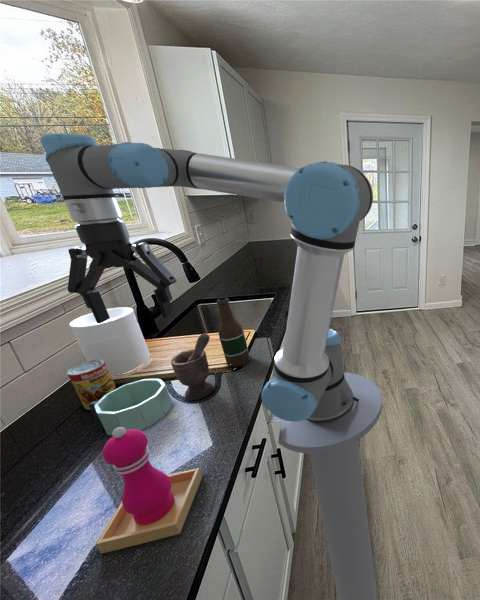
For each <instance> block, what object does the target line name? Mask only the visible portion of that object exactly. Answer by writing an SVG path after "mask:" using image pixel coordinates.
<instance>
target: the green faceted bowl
mask: <svg viewBox="0 0 480 600" xmlns="http://www.w3.org/2000/svg"><path fill="white" fill-rule="evenodd" d="M173 405H174V404H173V402H172V399H171V395H170V393H169V391H168V388H167V386H166V383H165V382H164V381H163V380H162V378H143V379H140V380H136V381H132V382H129V383H125V384H123V385H121V386H119V387H118V388H117V387H116V389H115V390H113V391H111V392H109V393H107V394H106V395H104V396H103V397H102V398H101V399H100V400H99V401H92V402H91V403H90V404H89V407H90V409H91V410H90V412H91V413H92V415H93V417H94V419H95V420H97V421H98V420H99V421H100V422H101V424H102V427H103V428H104V431H105V433H106V435H107V436H113V435H112V432H113V431H114V430H115V429H116V428H118V427H124V428H125V429H126V430H130V429H136V430H140V431H143V430H145V429H147V428H149V427H151V426H152V425H153V424H155V423H157V422H159V421H160V420H161V419H163V418H165V417H166V416H167V414H168V413H169V411H170V410H171V408H172V407H173Z"/></svg>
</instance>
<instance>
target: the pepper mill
mask: <svg viewBox="0 0 480 600" xmlns="http://www.w3.org/2000/svg"><path fill="white" fill-rule="evenodd" d="M111 436H112V437H110V438H109V439H108V440H107V441H106V442H105V444H104V445H103V449H102V457H103V460H104V461H105V462H106V463H107V464H108V465H111V466H112V468H113V470H114V472H115V473H116V474H117V475H121V476H122V478H123V482H124V486H123V490H122V497H121V498H122V499H121V502H122V504H123V507H124V509H125V511H126V512H127V513H129V514H132V516H133V518H134V520H135V522H136V523H137V524H138V525H148V524H151V523H153V522H156V521H157V520H159V519H161V518H162V517H163V516H164V515H166V514H167V513H168V512H169V510H170V509H171V508H172V506H173V504H174V496H173V494H172V492H171V481H170V479H169V478H168V476H167V475H168V474H166V473H165V472H163V471H162V470H160V469H157V468H156V467H154V466H153V465H152V463H151V462H150V458H151V451H150V449H149V448H148V444H149V440H148V436H147V435H146V433H145V432H143V430H136V429H130V430H126V429H125V428H124V427H118V428H116V429H115V430H114V431H113V432H112V435H111Z"/></svg>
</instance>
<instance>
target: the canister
mask: <svg viewBox="0 0 480 600" xmlns="http://www.w3.org/2000/svg"><path fill="white" fill-rule="evenodd" d="M106 309H107V312H108V314H109V317H110V318H109V319H108V320H106V321H104V322H102V323H97V322H96V319H95V317H94V315H93V313H92V312H90V313H88V314H83V315H81V316H79V317H77V318H75V319H73V320H72V321H70V322H69V327H70V330H71V331H72V333H73V337H75V339H76V342H77V344H78V347H79V348H80V351H81V353H82V355H83V357H84V359H85V362H87V361H91V360H104V362H105V364H106V366H107V369H108V371H109V373H110V375H111V376H115V375H119V374H123V373H126V372H128V371H130V370H132V369H134V368H136V367H138V366H139V365H141V364H143V363H144V362H146V361H147V360H148V359H149V357H150V355H151V353H150V350H149V348H148V345H147V342H146V340H145V337H144V335H143V332H142V330H141V327H140V324H139V322H138V319H137V316H136V314H135V311H134V308H132V307H129V306H128V307H127V306H122V307H120V306H119V307H112V308H106ZM152 361H153V359H152V357H151V359H150V360H149V362H147V363H146V364H145V365H144V366H142V367H143V368H142V369H141V370H143V369H145V368H146V367H147V366H149V365H150V364H151V363H152ZM147 364H148V365H147ZM138 369H139V368H138ZM141 370H140V371H141ZM138 372H139V371H137V369H136V370H134V371H132V372H129V373H126V374H123V375H120V376H116V377H111V378H112V380H113V381H114V380H119V379H123V378H126V377H130V376H132V375H134V374H135V373H136V374H137V373H138Z"/></svg>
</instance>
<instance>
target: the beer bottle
mask: <svg viewBox="0 0 480 600" xmlns="http://www.w3.org/2000/svg"><path fill="white" fill-rule="evenodd" d="M216 305H218V311H219V317H220V325H219V329H218V338H219V341H220V345H221V349H222V352H223V355H224V358H225V362H226V365H227V366H228V367H231V368H238V367H241V366H244V365H246V364H247V363H249V362H250V360H251V359H250V351H249V348H248V343H247V339H246V335H245V332H244V328H243V325H242V324H241V323H240V322H239V321H238V320H237V319H236V318H235V316H234V313H233V311H232V309H231V306H230V299H229V298H228V297H221V298H218V299H216ZM230 364H231V365H230Z"/></svg>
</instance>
